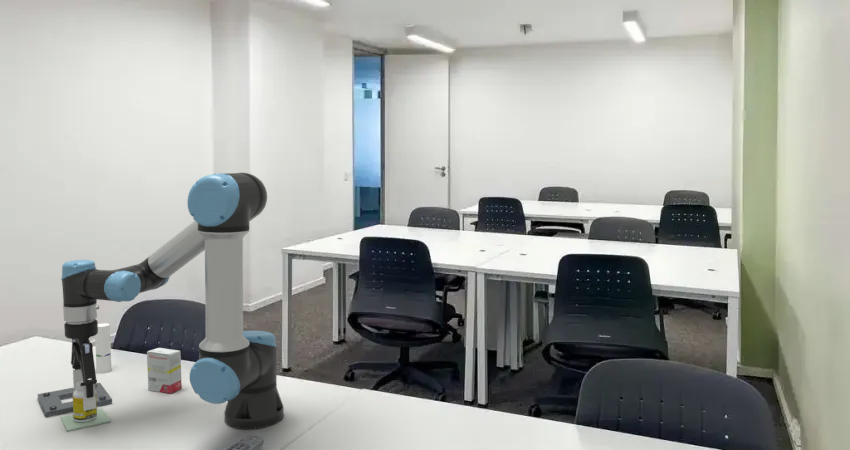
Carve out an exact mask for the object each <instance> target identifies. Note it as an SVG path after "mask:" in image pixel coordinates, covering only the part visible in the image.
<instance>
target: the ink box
mask: <svg viewBox="0 0 850 450" xmlns="http://www.w3.org/2000/svg"><path fill="white" fill-rule="evenodd" d="M146 359H147V361H146V364H147V389H148V391H150V392H157V393H164V394H165V393H166V394H173V393H175V392H177V391H179V390H182V360H181V359H182V356H181V350H177V349H171V348H165V347H163V348H162V347H157V348H154V349H150V350H148V351H146Z"/></svg>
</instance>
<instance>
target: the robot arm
mask: <svg viewBox="0 0 850 450" xmlns="http://www.w3.org/2000/svg"><path fill="white" fill-rule="evenodd" d="M186 203H187V209H188V212H189V214H190V216H191V217H192V218H193V221H192V222H191V223H190V224H188V225H187V226H186V227H185V228H184V229H182V230H181V231H180V232H178V233H177V234H175V235H174V237H173V236H172V238H171V239H170V240H168V241H167V242H166V243H164V244H163V245H162V246H161V247H159V248H158V249H157V250H155V251H154V252H153V253H151V254H150V255H149V256H148V257H147V258H145V259H144V260H142V261H141V262H140V263H138V264H133V265H130V266H126V267H122V268H117V269H111V270H108V269H107V270H106V269H97V266H96V263H95V261H94V260H90V259H73V260H68V261H66V262H63V264H62V267H61V278H60V279H61V284H62V299H63V300H62V301H63V303H62V304H63V305H62V308H63V309H62V310H63V311H62V313H63V321H64V322H65V323H64V325H63V327H64V337H65V338H67V339H69V340H71V354H70V355H71V360H70V365H71V367H72V380H73V381H72V382H73V388H74V392H75V391H76V390H77V389H76V382H78V381H82V380H83V383H81V384H80V386H82V387H83V409H84V411H85V410H90V409H95V408H96V395H95V383H98V380H97V374H96V373H97V372H96V367H95V366H96V365H95V358H94V349H93V347H94V344H92V342H91V340H90V338H91V337H95V335H96V334H97V333H98V324H99V322H98V320H97V318H98V311H97V310H99V309H100V305H97V301H98V300H99V301H109V302H116V303H121V302H131V301H133V300H135V298H136V297H137V296H138V295H140V294H142V293H144V292H145V293H146V292H149V291H153V290H156V289H159V288H161V287H163V286H165V285H166V284H167V283H168V281H169V280H170V277H171V276H172V275H174V274H175V273H177V271H179V270H180V269H181V268H183V267H184V266H186V265H187V264H188V263H189V262H191V261H192V260H193V259H195V258H196V257H198V256H199V255H200V254H201V253H203V252H204V286H205V287H204V289H205V290H204V291H205V292H204V293H205V295H204V296H205V302H204V304H205V338H204V339H203V340H201V342H200V343H199V344H198V359H197V360H196V361H195V362H194V364H193V365H192V367H191V368H190V370H189V371H190V372H189V382H190V386H191V388H192V390H193V391H194V393H195V394H197V395H198V397H199V398H200V399H201V400H203V401H204V402H206V403H210V404H214V405H220V404H223V403H224V404H225V403H226V402H227V403H226V405H225V409H224V423H225V424H226V425H227V426H229V427H231V428H234V429H239V430H241V429H242V430H252V429H253V430H254V429H256V430H257V429H261V428H265V427H266V428H267V427H270V426H272V425H275V424H277V423H278V422H280V421H281V420H282V419H283V418H284V414H285V413H284V410H285V408H284V404H283V401H282V399H281V396H280V393H279V391H278V387H277V348H278V345H277V341H276V339H277V338H276V336H275V334H274V333H272V332H269V331H263V330H244V281H243V280H244V277H243V276H244V265H243V264H244V260H243V259H244V255H243V254H244V250H243V249H244V246H243V245H244V244H243V243H244V241H243V240H244V238H245V236H246V235H247V234H248V233H249V232H250V222H251V221H253V220H254V219H255V218H256V217H258V216H259V215H261V214H262V212H263V211H264V210H265V208H266V205H267V203H268V192H267V189H266V185H265V184H264V182H262V180H261V179H259V178H258V177H257V176H255V175H254V174H252V173H247V172H236V173H235V172H232V173H231V172H229V173H227V172H226V173H223V172H218V173H217V172H216V173H213V174H208V175H207V174H206V175H204V176H202V177H200V178H199V179H198V180H196V181H195V183H193V185H191V188H190V190H189V192H188V196H187V202H186Z"/></svg>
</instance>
